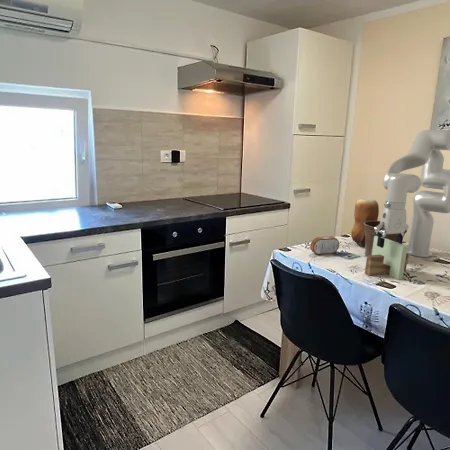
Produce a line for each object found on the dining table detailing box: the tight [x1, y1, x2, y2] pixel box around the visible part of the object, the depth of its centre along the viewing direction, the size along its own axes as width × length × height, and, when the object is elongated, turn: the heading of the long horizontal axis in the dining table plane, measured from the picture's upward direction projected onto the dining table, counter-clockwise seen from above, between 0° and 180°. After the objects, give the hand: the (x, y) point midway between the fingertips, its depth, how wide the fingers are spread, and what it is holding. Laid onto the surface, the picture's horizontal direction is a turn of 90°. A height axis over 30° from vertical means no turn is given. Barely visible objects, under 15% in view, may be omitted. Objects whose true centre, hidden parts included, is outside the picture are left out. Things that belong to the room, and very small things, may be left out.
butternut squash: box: [350, 198, 380, 247], centre depth 194 cm, size 14×13×25 cm
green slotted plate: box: [372, 236, 408, 280], centre depth 156 cm, size 16×2×14 cm, turn 20°
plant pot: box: [364, 220, 397, 257], centre depth 177 cm, size 16×16×16 cm
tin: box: [310, 235, 340, 255], centre depth 180 cm, size 15×3×8 cm, turn 108°
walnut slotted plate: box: [364, 253, 409, 277], centre depth 157 cm, size 2×20×8 cm, turn 111°
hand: (389, 245), depth 155 cm, fingers open, 9 cm apart
